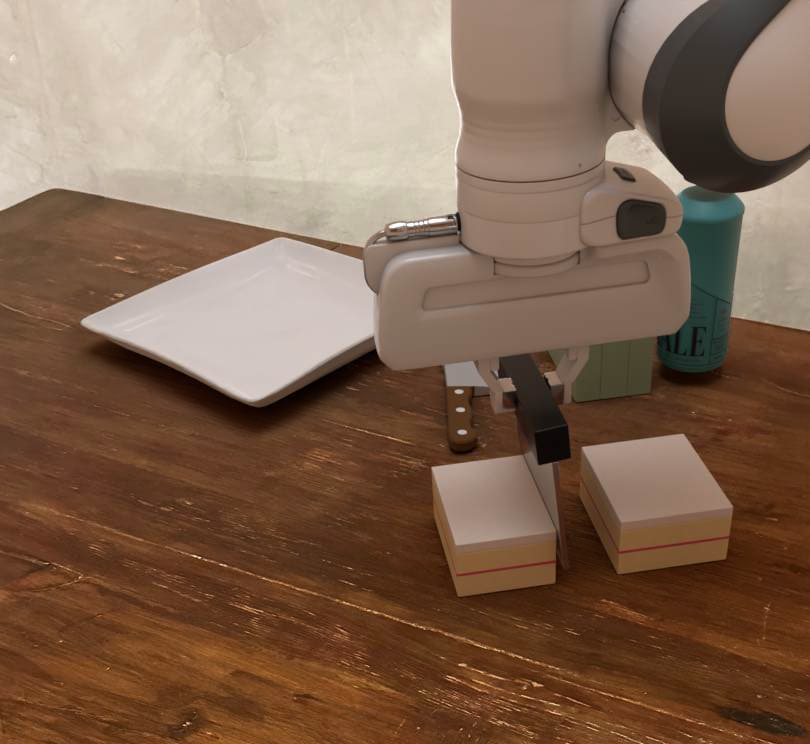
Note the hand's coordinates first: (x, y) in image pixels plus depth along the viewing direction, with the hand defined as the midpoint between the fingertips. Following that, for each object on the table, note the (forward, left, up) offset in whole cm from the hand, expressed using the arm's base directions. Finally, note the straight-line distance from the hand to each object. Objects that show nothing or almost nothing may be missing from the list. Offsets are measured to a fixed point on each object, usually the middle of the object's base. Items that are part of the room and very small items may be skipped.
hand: (530, 404), depth 76 cm
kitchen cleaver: (-1, -25, -12) cm, 28 cm away
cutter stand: (-12, -27, -12) cm, 32 cm away
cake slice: (+3, 0, -12) cm, 12 cm away
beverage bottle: (-20, -22, -12) cm, 32 cm away
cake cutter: (-1, 0, -10) cm, 10 cm away
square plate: (+17, -39, -12) cm, 44 cm away
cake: (-9, 0, -12) cm, 15 cm away
